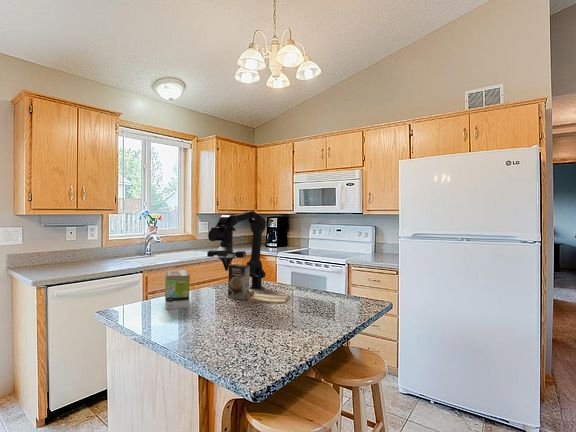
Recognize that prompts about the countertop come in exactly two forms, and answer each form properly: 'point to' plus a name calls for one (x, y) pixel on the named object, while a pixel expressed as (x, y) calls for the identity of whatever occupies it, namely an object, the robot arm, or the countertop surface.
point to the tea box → (177, 289)
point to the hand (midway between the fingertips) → (226, 270)
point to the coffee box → (238, 281)
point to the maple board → (268, 298)
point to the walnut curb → (249, 295)
